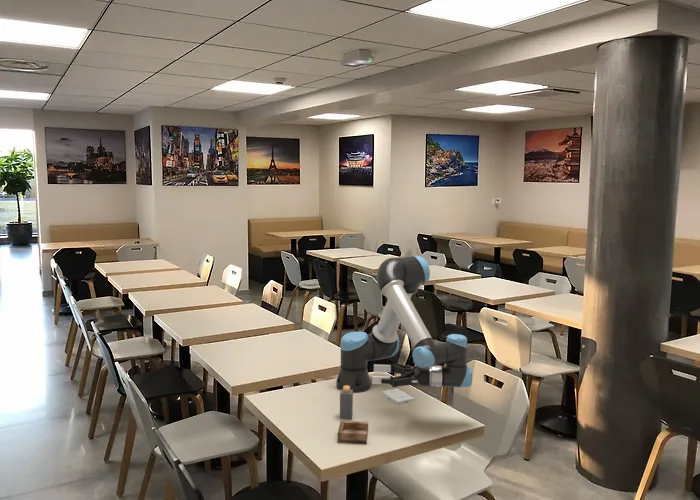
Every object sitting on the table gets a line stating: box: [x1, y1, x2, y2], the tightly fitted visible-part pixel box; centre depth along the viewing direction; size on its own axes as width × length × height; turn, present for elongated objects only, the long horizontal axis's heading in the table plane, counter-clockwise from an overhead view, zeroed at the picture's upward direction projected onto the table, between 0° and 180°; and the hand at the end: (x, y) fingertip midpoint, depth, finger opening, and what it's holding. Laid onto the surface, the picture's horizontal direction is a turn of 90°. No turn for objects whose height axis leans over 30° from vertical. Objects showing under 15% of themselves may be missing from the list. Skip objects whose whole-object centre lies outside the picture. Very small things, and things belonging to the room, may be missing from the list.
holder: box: [336, 420, 369, 445], centre depth 200 cm, size 10×10×4 cm
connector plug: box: [339, 385, 354, 420], centre depth 217 cm, size 4×4×12 cm
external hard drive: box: [381, 388, 415, 405], centre depth 238 cm, size 2×8×12 cm
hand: (372, 373), depth 214 cm, fingers open, 13 cm apart
